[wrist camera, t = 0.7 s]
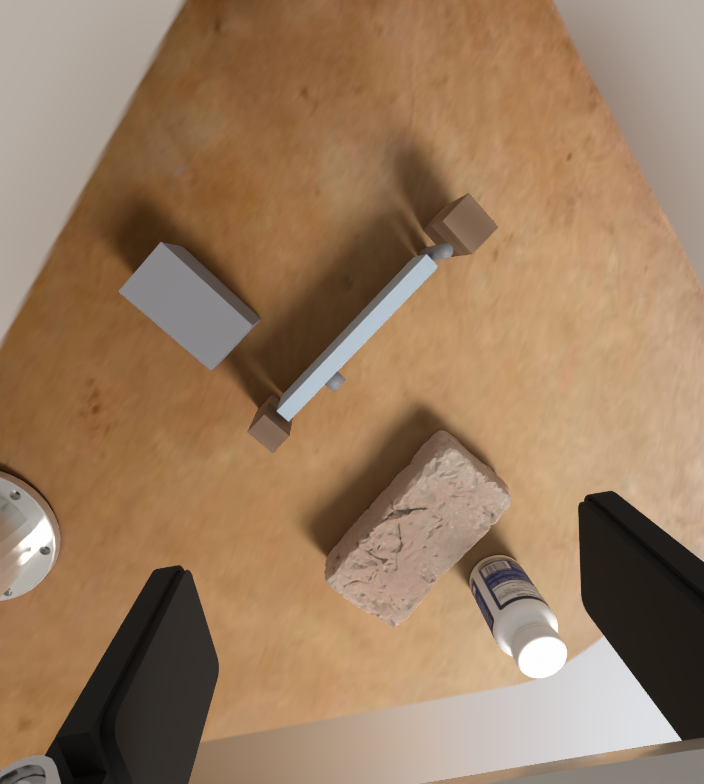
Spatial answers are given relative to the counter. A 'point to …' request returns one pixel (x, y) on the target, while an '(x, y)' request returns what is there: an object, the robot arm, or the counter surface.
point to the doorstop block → (189, 304)
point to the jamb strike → (270, 425)
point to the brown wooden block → (461, 226)
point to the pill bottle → (518, 616)
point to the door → (360, 331)
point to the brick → (416, 530)
